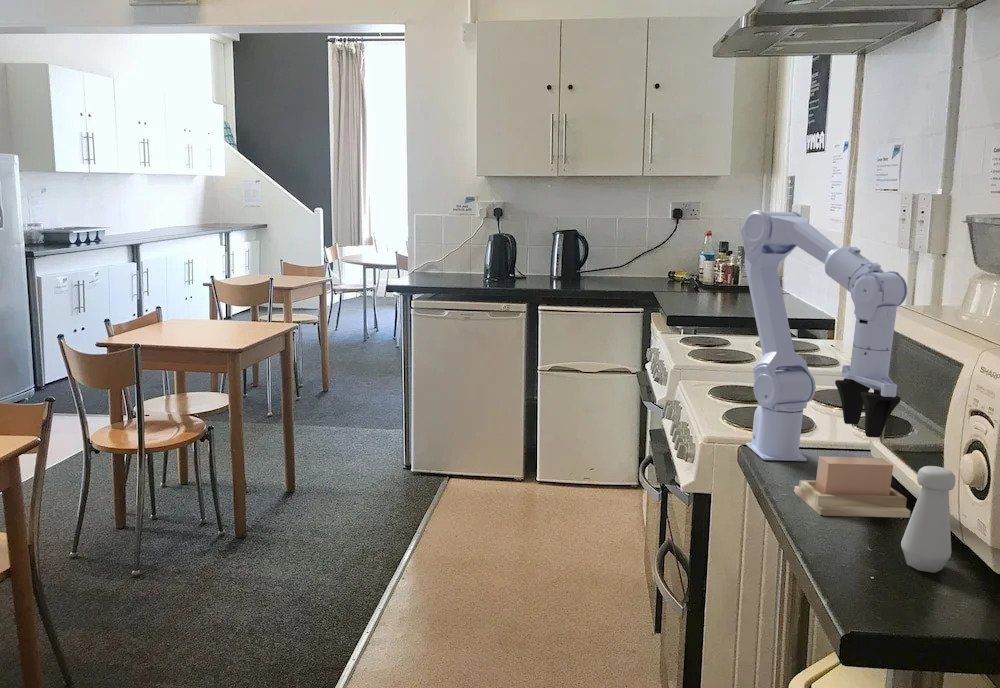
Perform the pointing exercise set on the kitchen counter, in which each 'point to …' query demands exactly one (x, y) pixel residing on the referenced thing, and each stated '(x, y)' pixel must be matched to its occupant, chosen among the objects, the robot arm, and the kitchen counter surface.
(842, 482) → the clay block
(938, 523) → the salt shaker
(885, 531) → the kitchen counter surface
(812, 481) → the tray
